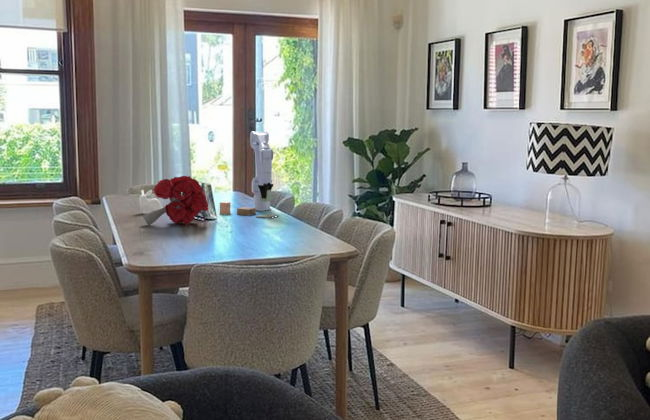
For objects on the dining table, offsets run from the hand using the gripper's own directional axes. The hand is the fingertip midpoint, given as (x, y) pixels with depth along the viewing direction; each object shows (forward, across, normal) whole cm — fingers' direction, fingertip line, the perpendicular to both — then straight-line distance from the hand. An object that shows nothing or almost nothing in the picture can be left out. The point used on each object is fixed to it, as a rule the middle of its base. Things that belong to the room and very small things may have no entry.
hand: (265, 197), depth 340 cm
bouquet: (+9, +50, -26) cm, 57 cm away
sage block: (+2, 0, 0) cm, 2 cm away
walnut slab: (+9, +5, -9) cm, 13 cm away
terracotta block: (+9, +8, -20) cm, 23 cm away
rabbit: (+9, +24, -55) cm, 61 cm away
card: (+9, +9, +5) cm, 13 cm away
